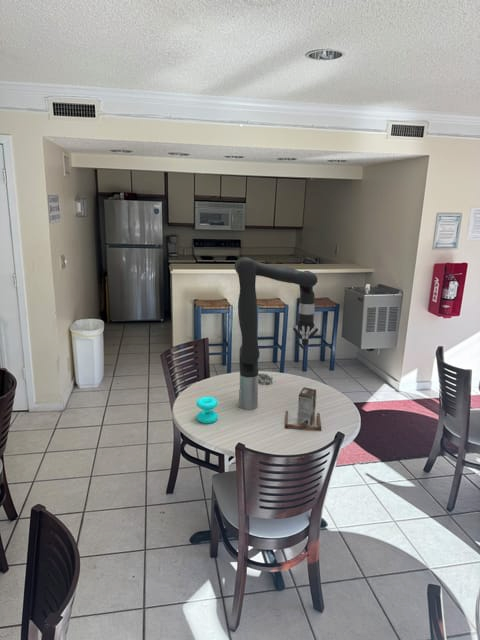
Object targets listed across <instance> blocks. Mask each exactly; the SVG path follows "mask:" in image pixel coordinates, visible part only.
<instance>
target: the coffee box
mask: <svg viewBox="0 0 480 640" xmlns="http://www.w3.org/2000/svg"><path fill="white" fill-rule="evenodd" d="M299 392H300V393H299V394H298V407H297V424H298V425H313V424H314V422H316V421H315V419H316V418H315V417H316V400H317V389H314V388H310V387H302V389H301V391H299Z"/></svg>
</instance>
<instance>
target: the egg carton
mask: <svg viewBox="0 0 480 640" xmlns="http://www.w3.org/2000/svg"><path fill="white" fill-rule="evenodd" d="M273 378H274V377H272V376H270V375H269V374H268V373H258V383H260V385H263V386H267V385H272V384H273V380H274V379H273Z"/></svg>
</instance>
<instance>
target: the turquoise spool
mask: <svg viewBox="0 0 480 640" xmlns="http://www.w3.org/2000/svg"><path fill="white" fill-rule="evenodd" d="M218 404H219V402H218V399H216V398H215V397H213V396H203V397H200V398H198V399H197V401H196V406H197V407H198V409H200V411H199V412H198V413H197V415H196V419H197V421H198V422H200V423H201V422H202V423H201V424H213V423H215V422H216V421H217V420H218V417H219V415H218V413H217V412H216V411H215V410H214V409H215V408H217V406H218Z"/></svg>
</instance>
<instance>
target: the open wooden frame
mask: <svg viewBox="0 0 480 640" xmlns="http://www.w3.org/2000/svg"><path fill="white" fill-rule="evenodd" d="M284 416H285V419H284V429H285V430H287V429H288V430H301V431H302V430H303V431H315V432H316V431H317V432H321V431H322V422H321V421H322V420H321V414H320V412H316V421H317V422H316V423H317V425H313V424H312V425H298V424H296V423H295V424H294V423H289V422H288V421H289V411H288V410H285V415H284Z"/></svg>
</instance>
